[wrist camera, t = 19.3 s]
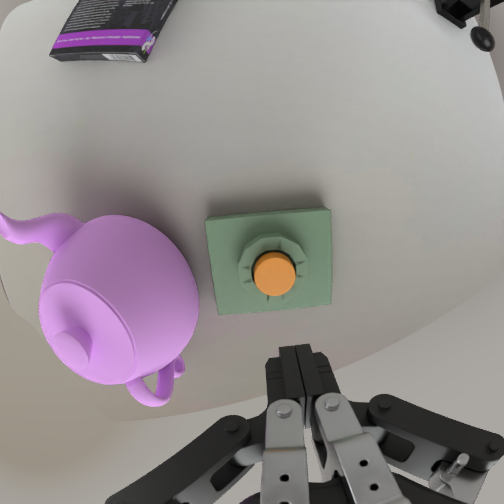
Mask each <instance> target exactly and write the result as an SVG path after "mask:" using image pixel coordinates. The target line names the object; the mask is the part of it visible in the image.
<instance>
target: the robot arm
mask: <svg viewBox="0 0 504 504" xmlns="http://www.w3.org/2000/svg"><path fill="white" fill-rule="evenodd" d="M265 368H266V382H267V396H268V405H267V408H266V410H265V411H264V412H263V413H262V414H260V415H259V416H257V417H254V418H251V419H247V420H246V419H245V418H243V417H241V416H238V415H229V416H225V417H223V418H221V419H219V420H218V421H217V422H216V423H214V424H213V425H212V426H211V427H210V428H208V429H207V430H206V431H205V432H203V433H202V434H201V435H200V436H198V437H197V438H196V439H194V440H193V441H192V442H191V443H189V444H188V445H187V446H185V447H184V448H183V449H181V450H180V451H179V452H177V453H176V454H175V455H173V456H172V457H171V458H169V459H168V460H166V461H165V462H163V463H162V464H161V465H159V466H158V467H156V468H155V469H153V470H152V471H150V472H149V473H147V474H146V475H145V476H143V477H141V478H140V479H138V480H137V481H135V482H134V483H132V484H130V485H129V486H127V487H125V488H124V489H122V490H120V491H119V492H117V493H115V494H114V495H112V496H110V497H109V498H108V499H107V500H106V502H105V504H213V503H214V502H215V501H216V500H218V499H219V498H220V497H221V496H222V495H223V494H224V493H226V492H227V491H228V490H229V489H230V488H231V487H232V486H233V485H234V484H236V483H237V482H238V481H239V480H240V479H241V478H242V477H243V476H244V475H245V474H246V473H247V472H248V471H249V470H250V469H251V468H252V467H253V466H254V464H255V463H257V462H260V461H263V463H262V479H261V492H259V493H256V494H254V495H252V496H250V497H248V498H246V499H245V500H243V501H242V502H241V503H239V504H474V502H475V500H476V498H477V495H478V494H479V491H480V489H481V487H482V484H483V482H484V480H485V478H486V475H487V473H488V471H489V470H490V468H492V467H493V466H494V465H495V463H496V462H497V461H498V460H499V459H500V458H501V457H502V456H503V455H504V438H503V437H502V436H500V435H499V434H496V433H492V432H489V431H486V430H483V429H480V428H476V427H473V426H470V425H467V424H464V423H461V422H459V421H456V420H453V419H450V418H447V417H445V416H442V415H439V414H436V413H434V412H431V411H429V410H426V409H424V408H421V407H419V406H416V405H414V404H411V403H409V402H407V401H404V400H402V399H399V398H397V397H395V396H392V395H389V394H380V395H377V396H375V397H373V398H372V399H371V400H370V402H369V403H364V402H352V401H349V400H348V399H347V398H346V397H345V396H344V395H342V394H341V393H340V390H339V387H338V385H337V382H336V379H335V377H334V374H333V372H332V369H331V366H330V363H329V361H328V358H327V357H326V356H325V355H324V354H323V353H321V352H317V353H312V350H311V347H310V344H302V345H295V346H285V347H279V357H276V358H269V359H268V361H267V363H266V365H265ZM304 425H305V429H306V428H311V431H312V444H313V447H314V451H315V453H316V457H317V460H318V463H319V467H320V470H321V474H322V483H312V482H308V468H307V453H306V447H305V444H304V432H303V429H304ZM387 463H388V464H390V465H393V466H394V467H397V468H399V469H401V470H403V471H405V472H408V473H410V474H412V475H414V476H417V477H419V478H422V479H424V480H427V481H428V484H429V488H427V487H425V486H423V485H421V484H418V483H416V482H414V481H412V480H410V479H408V478H406V477H404V476H402V475H400V474H397V473H394V472H391V470H390V468H389V466H388V464H387Z"/></svg>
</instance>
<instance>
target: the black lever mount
mask: <svg viewBox="0 0 504 504" xmlns="http://www.w3.org/2000/svg"><path fill="white" fill-rule="evenodd" d="M501 2H504V0H490V8H491V7H493V6H495V5H497V4H499V3H501ZM435 4H436V9H437V13H438V14H440V15H441V16H443V17H444V18H446V19H447V20H449V21H450V22H452V23H453V24H455V25H456V26H458V27H459V28H461V29H462V28H464V27H466V22H465V21H466V20H468V19H470V18H471V17H473V16H475V15H477V14H479V13H480V0H435Z"/></svg>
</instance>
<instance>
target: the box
mask: <svg viewBox="0 0 504 504" xmlns="http://www.w3.org/2000/svg"><path fill="white" fill-rule="evenodd" d="M177 1H178V0H79V2H78V3H77V5H76V6H75V8H74V9H73V11H72V12H71V14H70V16H69V18H68V19H67V21H66V23H65V25H64V27H63V28H62V30H61V32H60V34H59V36H58V38H57V40H56V42H55V44H54V46H53V48H52V50H51V52H50V54H49V56H50V57H52V58H55V59H57V60H59V61H77V60H120V61H134V62H144V63H145V62H146V60H147V58H148V56H149V54H150V52H151V49H152V47H153V45H154V43H155V41H156V39H157V37H158V35H159V33H160V31H161V29H162V27H163V25H164V23H165V21H166V20H167V18H168V16H169V14H170V12H171V11H172V9H173V7H174V5H175V4H176V2H177Z"/></svg>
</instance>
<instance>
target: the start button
mask: <svg viewBox="0 0 504 504" xmlns="http://www.w3.org/2000/svg"><path fill="white" fill-rule="evenodd" d="M295 278H296V274H295V269H294V267H293V265H292V263H291V261H290V259H289V258H288V257H287V256H285V255H284V254H282V253H279V252H270V253H266V254H264V255H263V256H261V257H260V258H259V259H258V260H257V262H256V264H255V267H254V280H255V284H256V286H257V287H258V289H259V290H260V291H261V292H263V293H264V294H267V295H270V296H279V295H282V294H284V293H286V292H288V291H289V290H290V289H291V288H292V286H293V285H294V282H295Z"/></svg>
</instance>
